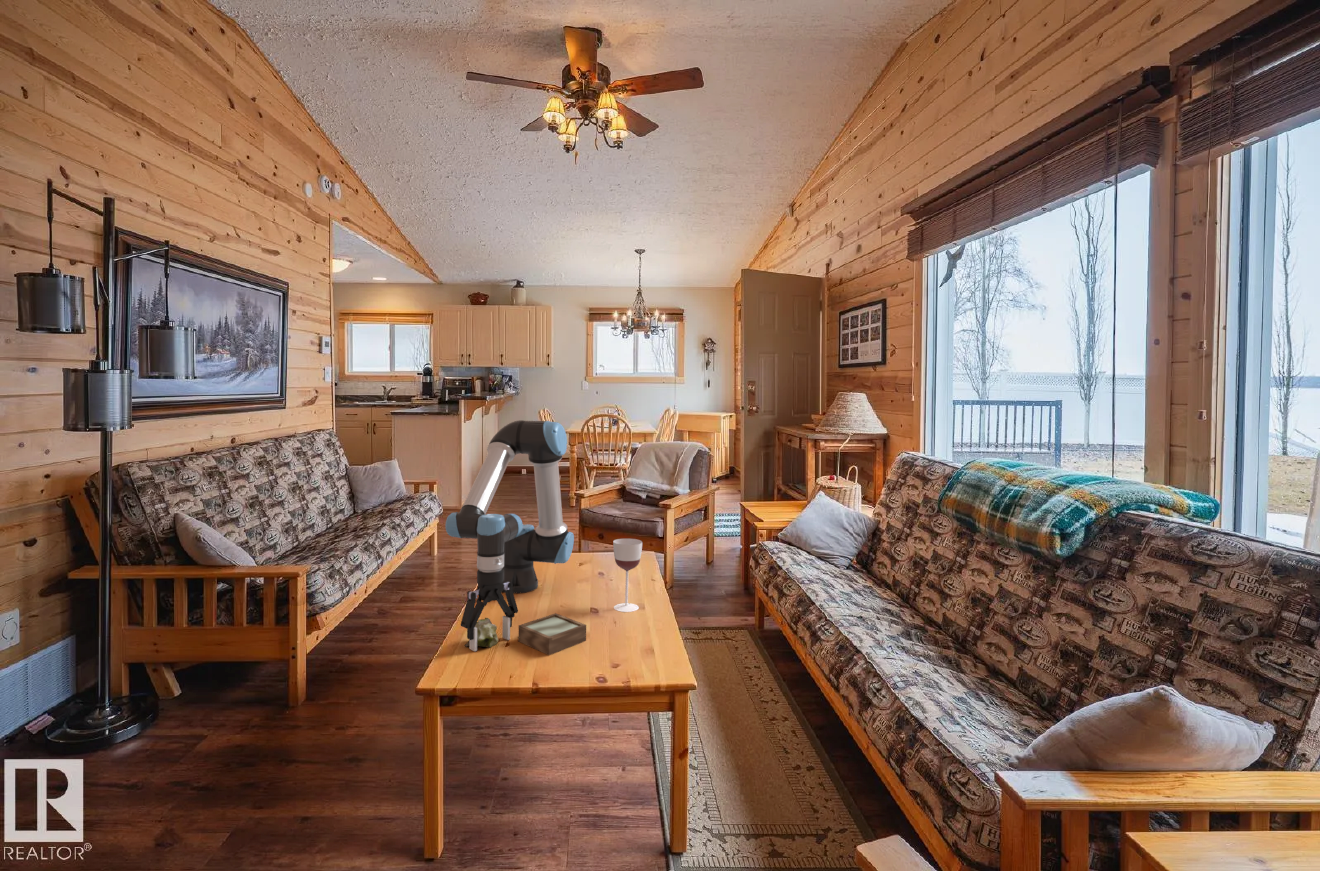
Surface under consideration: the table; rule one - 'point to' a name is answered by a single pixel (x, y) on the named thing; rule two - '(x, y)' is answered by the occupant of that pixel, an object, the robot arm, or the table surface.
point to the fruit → (485, 633)
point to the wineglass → (627, 565)
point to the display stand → (552, 633)
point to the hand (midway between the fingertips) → (490, 643)
